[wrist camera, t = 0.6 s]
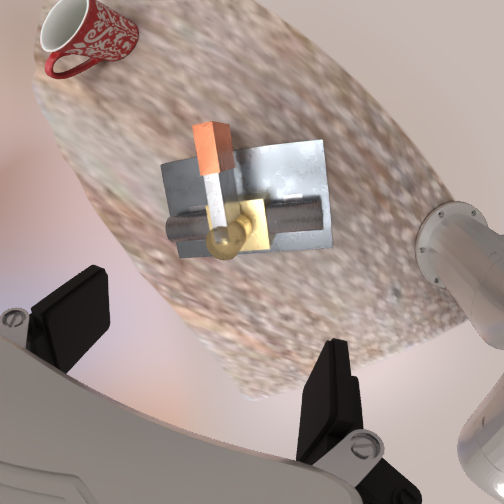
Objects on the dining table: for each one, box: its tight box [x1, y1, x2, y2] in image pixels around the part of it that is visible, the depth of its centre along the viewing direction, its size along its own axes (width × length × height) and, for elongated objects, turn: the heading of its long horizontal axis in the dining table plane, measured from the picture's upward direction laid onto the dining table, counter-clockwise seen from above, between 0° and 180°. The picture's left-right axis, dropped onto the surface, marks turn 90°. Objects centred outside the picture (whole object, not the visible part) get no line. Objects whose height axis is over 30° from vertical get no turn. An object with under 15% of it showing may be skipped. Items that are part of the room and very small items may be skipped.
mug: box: [40, 0, 139, 79], centre depth 28 cm, size 13×9×14 cm
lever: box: [192, 121, 252, 260], centre depth 31 cm, size 14×4×6 cm, turn 8°
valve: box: [161, 140, 333, 258], centre depth 37 cm, size 22×14×5 cm, turn 98°
